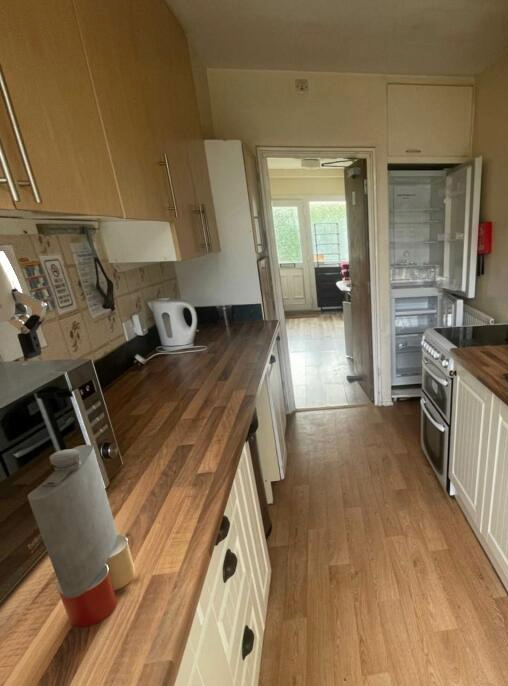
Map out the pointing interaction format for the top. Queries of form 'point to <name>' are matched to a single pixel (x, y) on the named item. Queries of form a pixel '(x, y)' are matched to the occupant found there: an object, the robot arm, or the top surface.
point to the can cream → (120, 563)
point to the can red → (91, 602)
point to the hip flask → (75, 519)
